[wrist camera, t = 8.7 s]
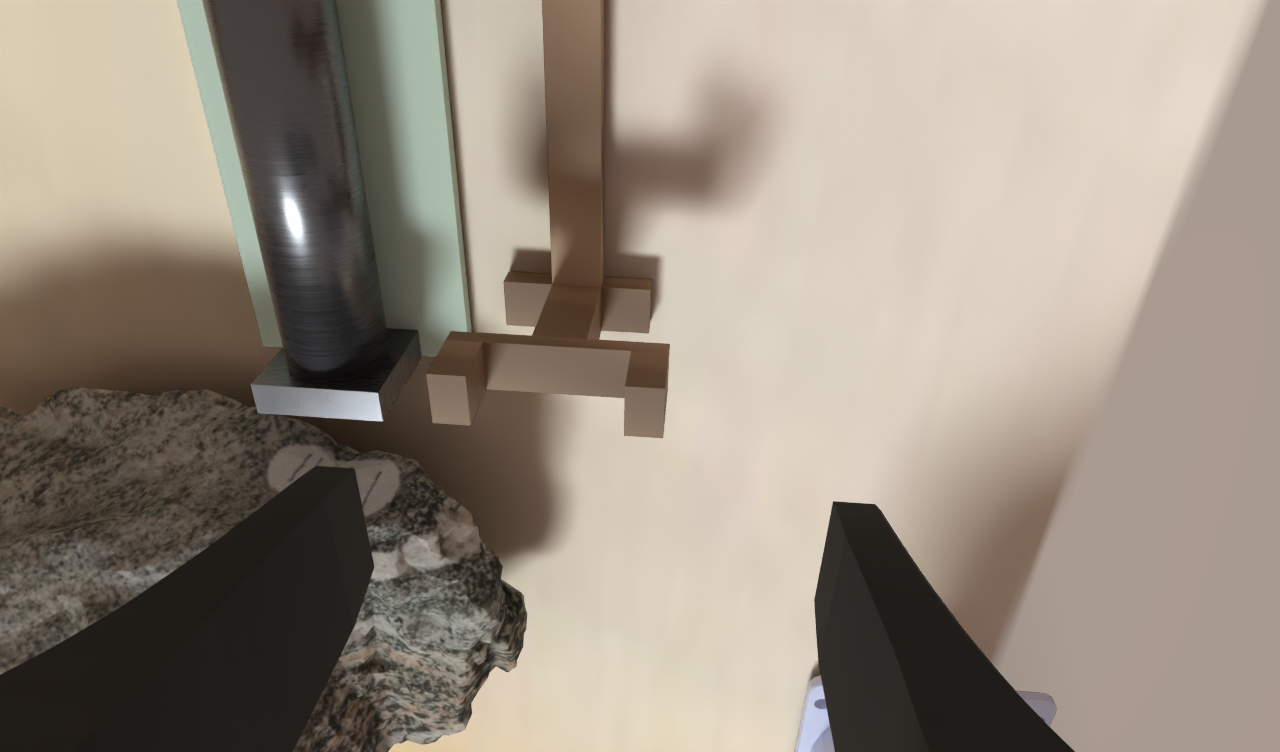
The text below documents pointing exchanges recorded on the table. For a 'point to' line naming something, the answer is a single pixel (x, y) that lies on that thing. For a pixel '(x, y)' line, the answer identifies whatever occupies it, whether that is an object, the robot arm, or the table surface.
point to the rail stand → (565, 266)
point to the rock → (213, 505)
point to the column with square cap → (308, 210)
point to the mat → (373, 163)
